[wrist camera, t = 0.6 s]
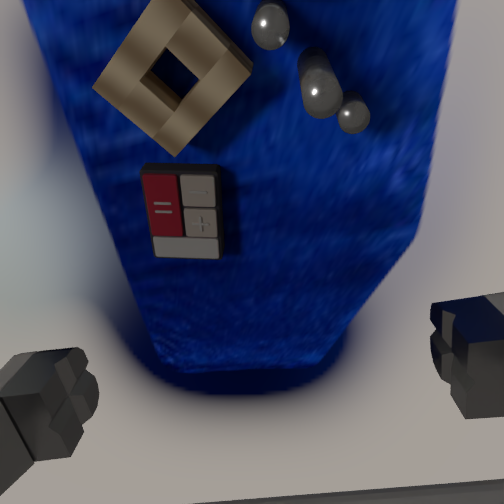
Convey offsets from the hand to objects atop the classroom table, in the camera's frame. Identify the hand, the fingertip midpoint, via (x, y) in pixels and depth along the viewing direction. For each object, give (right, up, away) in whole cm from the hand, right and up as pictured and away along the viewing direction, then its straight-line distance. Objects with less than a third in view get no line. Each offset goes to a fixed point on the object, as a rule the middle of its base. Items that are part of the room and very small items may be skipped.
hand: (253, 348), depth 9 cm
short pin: (+12, +21, +41) cm, 47 cm away
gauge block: (-9, +25, +39) cm, 47 cm away
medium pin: (+2, +29, +35) cm, 46 cm away
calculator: (-10, +9, +52) cm, 54 cm away
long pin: (+7, +25, +38) cm, 46 cm away
